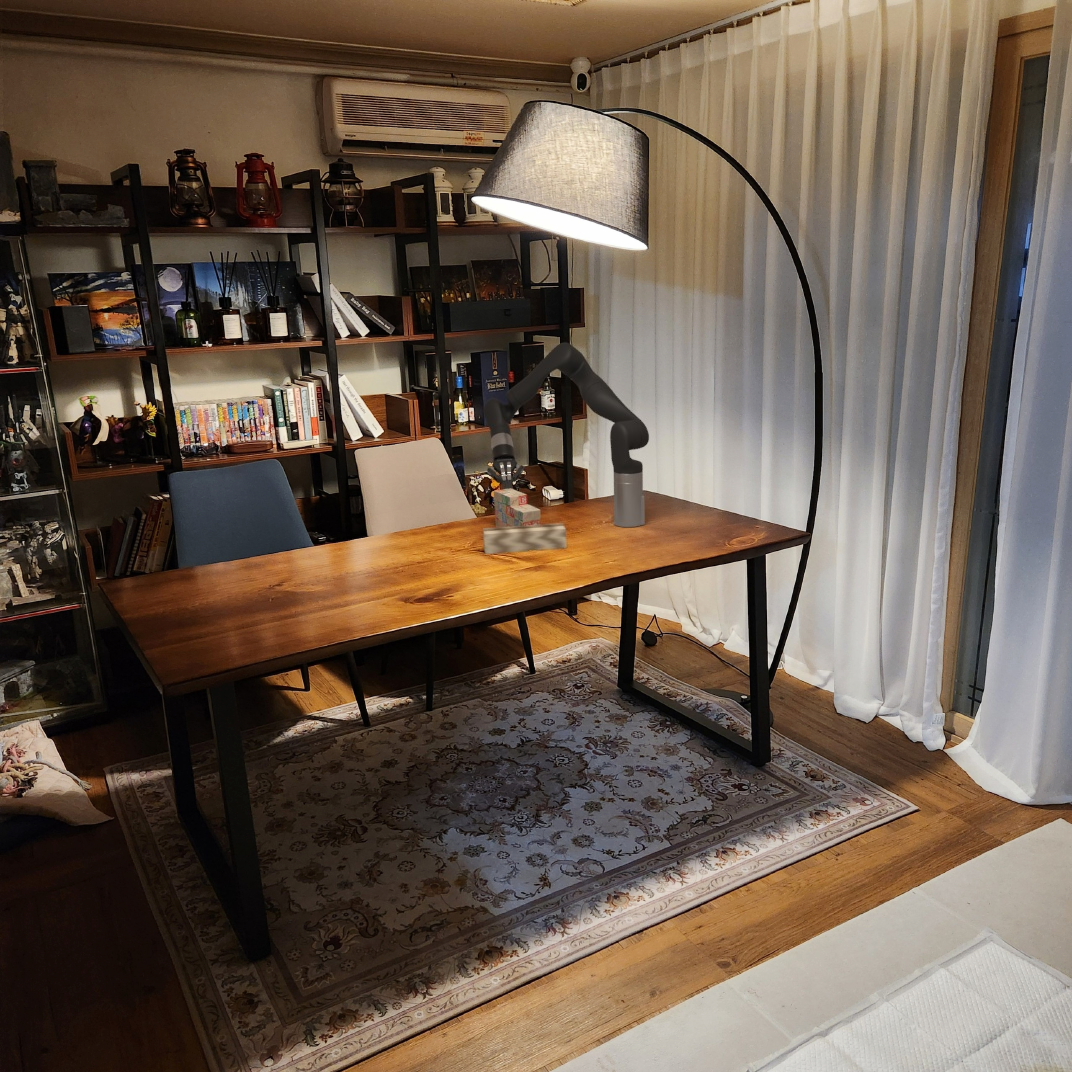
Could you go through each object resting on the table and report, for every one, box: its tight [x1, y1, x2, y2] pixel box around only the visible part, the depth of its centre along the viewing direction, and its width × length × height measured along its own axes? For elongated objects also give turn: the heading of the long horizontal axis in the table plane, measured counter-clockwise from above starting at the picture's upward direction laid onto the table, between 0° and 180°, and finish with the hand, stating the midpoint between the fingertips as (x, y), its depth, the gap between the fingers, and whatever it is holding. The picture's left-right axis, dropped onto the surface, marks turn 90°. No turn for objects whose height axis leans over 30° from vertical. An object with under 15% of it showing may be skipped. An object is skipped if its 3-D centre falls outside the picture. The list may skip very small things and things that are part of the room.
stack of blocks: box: [493, 488, 542, 528], centre depth 290 cm, size 21×6×12 cm, turn 26°
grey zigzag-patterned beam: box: [482, 522, 567, 555], centre depth 272 cm, size 24×5×7 cm, turn 98°
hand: (508, 491), depth 309 cm, fingers closed
